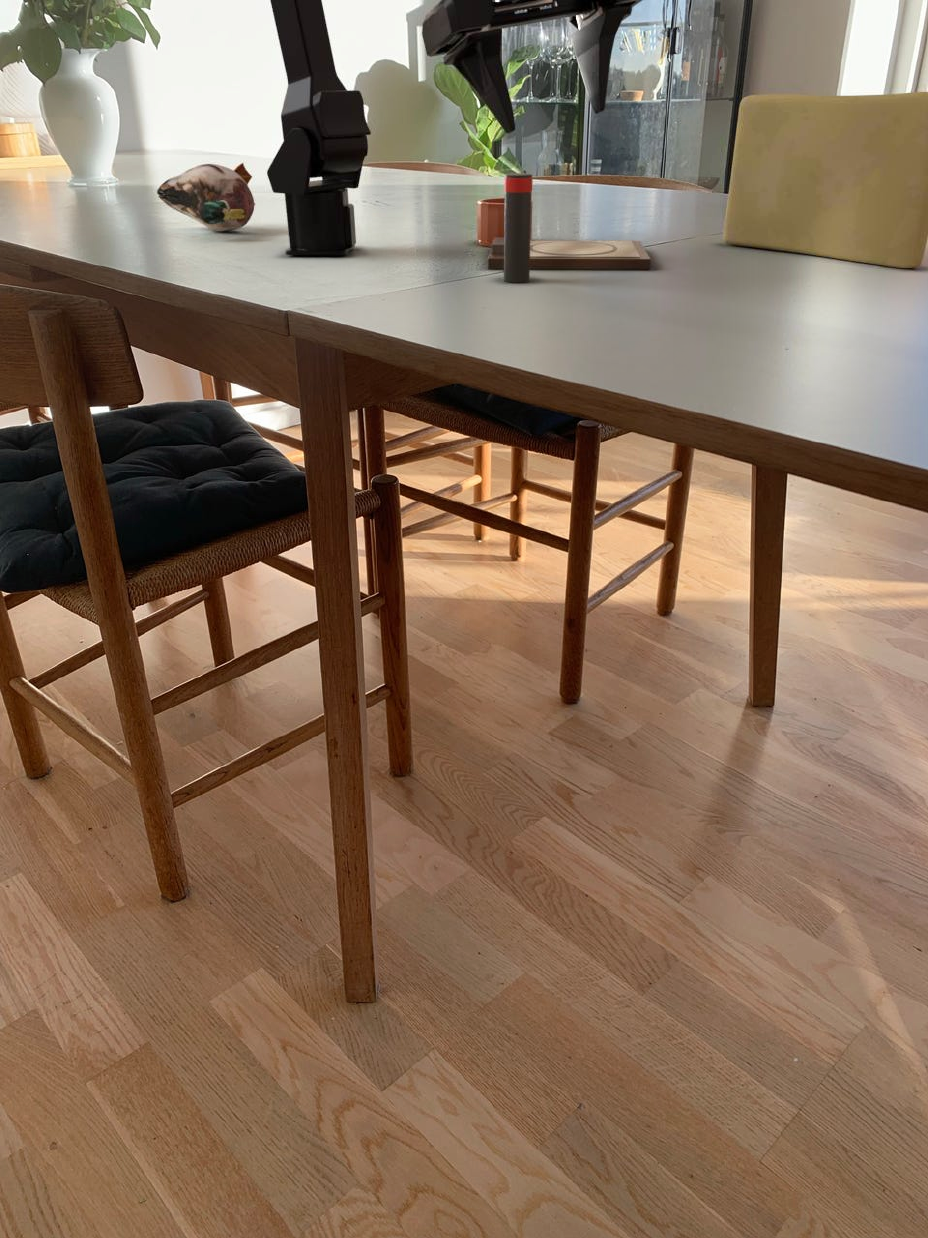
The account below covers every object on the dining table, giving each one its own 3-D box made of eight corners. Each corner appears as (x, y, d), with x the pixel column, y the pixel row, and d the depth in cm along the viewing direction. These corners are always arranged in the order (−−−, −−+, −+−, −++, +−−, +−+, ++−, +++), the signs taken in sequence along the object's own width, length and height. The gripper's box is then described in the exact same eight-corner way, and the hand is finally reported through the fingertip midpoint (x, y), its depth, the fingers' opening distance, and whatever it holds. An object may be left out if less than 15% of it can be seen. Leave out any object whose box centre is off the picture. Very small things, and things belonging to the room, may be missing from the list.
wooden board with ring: (487, 268, 91) (488, 249, 90) (493, 249, 101) (493, 232, 100) (650, 269, 90) (651, 250, 89) (639, 250, 100) (640, 232, 99)
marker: (502, 282, 85) (503, 175, 80) (503, 277, 87) (505, 172, 82) (529, 282, 84) (532, 175, 80) (529, 277, 87) (532, 172, 82)
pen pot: (476, 247, 103) (476, 203, 101) (479, 239, 108) (479, 197, 106) (531, 247, 103) (532, 203, 100) (531, 239, 108) (532, 197, 106)
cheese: (948, 264, 91) (991, 90, 83) (884, 274, 87) (923, 92, 79) (778, 237, 107) (801, 90, 100) (717, 244, 103) (736, 91, 96)
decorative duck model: (232, 183, 104) (109, 176, 106) (241, 252, 108) (122, 245, 110) (275, 159, 116) (164, 154, 118) (281, 222, 120) (174, 216, 122)
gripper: (452, -130, 64) (507, 113, 69) (665, -152, 70) (701, 72, 75) (396, -56, 74) (447, 152, 79) (587, -82, 80) (623, 113, 85)
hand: (556, 121), depth 79 cm, fingers open, 9 cm apart
